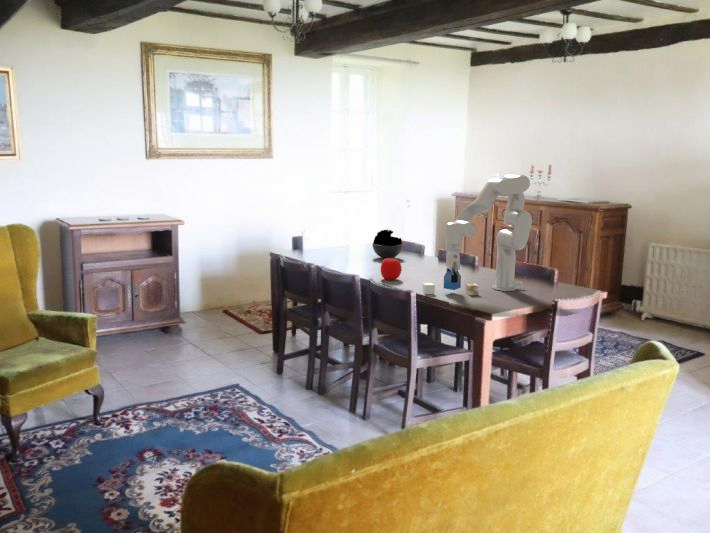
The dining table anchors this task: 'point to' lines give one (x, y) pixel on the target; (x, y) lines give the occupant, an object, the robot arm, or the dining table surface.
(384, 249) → the coal bowl
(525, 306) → the dining table surface
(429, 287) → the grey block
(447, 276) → the perfume bottle
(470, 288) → the birch block
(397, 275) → the tomato
